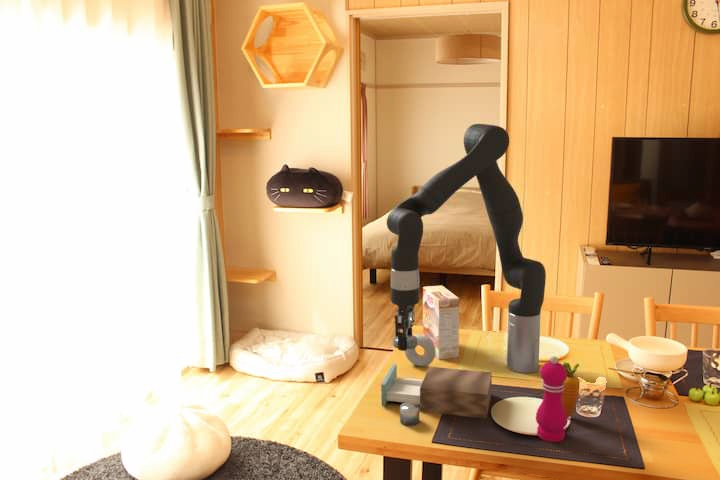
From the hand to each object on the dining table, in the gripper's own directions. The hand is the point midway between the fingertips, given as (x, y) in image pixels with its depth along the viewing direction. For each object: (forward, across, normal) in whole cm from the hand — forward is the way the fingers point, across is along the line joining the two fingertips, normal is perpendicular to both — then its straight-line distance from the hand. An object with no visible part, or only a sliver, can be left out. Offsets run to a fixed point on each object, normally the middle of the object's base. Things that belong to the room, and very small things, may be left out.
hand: (405, 345), depth 173 cm
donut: (+15, +22, 0) cm, 27 cm away
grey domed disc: (0, 0, 0) cm, 0 cm away
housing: (+15, 0, -14) cm, 20 cm away
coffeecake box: (+15, +36, -4) cm, 39 cm away
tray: (+15, 0, -3) cm, 15 cm away
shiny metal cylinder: (+15, -13, -4) cm, 20 cm away
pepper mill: (+15, -12, -38) cm, 42 cm away
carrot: (+15, -2, -42) cm, 45 cm away
